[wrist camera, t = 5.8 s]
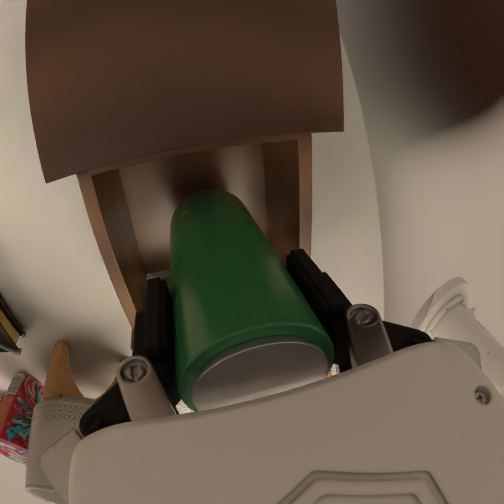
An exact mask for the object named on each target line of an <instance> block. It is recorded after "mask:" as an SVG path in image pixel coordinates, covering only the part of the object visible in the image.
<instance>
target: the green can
mask: <svg viewBox="0 0 504 504" xmlns="http://www.w3.org/2000/svg"><path fill="white" fill-rule="evenodd" d="M170 284H171V310H172V329H173V344H174V357H175V368H176V379H177V388H178V393H179V395H180V397H181V399H182V400H183V402H184V403H185V404H186V405H187V406H188V407H189V408H190V409H192V410H193V411H195V412H197V411H203V410H208V409H213V408H218V407H223V406H228V405H232V404H237V403H241V402H245V401H249V400H253V399H257V398H261V397H265V396H269V395H273V394H276V393H280V392H283V391H287V390H290V389H294V388H297V387H300V386H303V385H307V384H310V383H313V382H316V381H319V380H322V379H325V378H326V376H327V375H328V373H329V372H330V370H331V368H332V365H333V362H334V356H335V351H334V345H333V342H332V340H331V339H330V337H329V335H328V334H327V332H326V331H325V329H324V327H323V326H322V324H321V323H320V321H319V319H318V318H317V316H316V315H315V313H314V311H313V310H312V308H311V307H310V305H309V303H308V302H307V300H306V299H305V297H304V296H303V294H302V292H301V291H300V289H299V288H298V286H297V285H296V283H295V281H294V280H293V278H292V277H291V275H290V274H289V272H288V271H287V269H286V267H285V266H284V264H283V263H282V261H281V260H280V258H279V257H278V255H277V253H276V252H275V250H274V249H273V247H272V246H271V244H270V243H269V241H268V240H267V238H266V237H265V235H264V233H263V232H262V230H261V229H260V227H259V226H258V224H257V223H256V221H255V220H254V218H253V217H252V215H251V214H250V212H249V211H248V209H247V208H246V206H245V205H244V203H243V202H242V201H241V200H240V199H239V198H238V197H236V196H235V195H233V194H232V193H229V192H227V191H223V190H218V189H207V190H202V191H199V192H196V193H194V194H192V195H190V196H188V197H187V198H186V199H184V200H183V201H182V202H181V203H180V204H179V205H178V207H177V208H176V210H175V211H174V213H173V216H172V219H171V223H170Z"/></svg>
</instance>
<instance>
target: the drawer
mask: <svg viewBox="0 0 504 504" xmlns="http://www.w3.org/2000/svg"><path fill="white" fill-rule="evenodd" d="M311 138H312V137H311V133H300V134H286V135H274V136H264V137H254V138H245V139H237V140H230V141H222V142H216V143H209V144H203V145H197V146H191V147H185V148H180V149H174V150H169V151H164V152H159V153H155V154H150V155H145V156H141V157H137V158H132V159H128V160H124V161H120V162H116V163H112V164H108V165H105V166H101V167H97V168H94V169H90V170H87V171H84V172H80V173H77V178H78V181H79V185H80V189H81V192H82V196H83V200H84V203H85V207H86V210H87V213H88V217H89V220H90V223H91V226H92V229H93V232H94V235H95V238H96V241H97V244H98V247H99V250H100V252H101V255H102V258H103V261H104V263H105V266H106V268H107V271H108V274H109V276H110V279H111V281H112V284H113V286H114V289H115V291H116V293H117V296H118V298H119V300H120V303H121V305H122V307H123V309H124V312H125V314H126V316H127V318H128V320H129V323H130V325H131V327H132V336H131V350H132V351H133V338H134V325H135V315H136V312H138V311H144V310H145V303H146V290H147V274H149V273H154V272H159V271H163V270H168V269H170V223H171V219H172V216H173V213H174V211H175V210H176V208H177V207H178V205H179V204H180V203H181V202H182V201H183V200H184V199H186V198H187V197H188V196H190V195H192V194H194V193H196V192H199V191H202V190H207V189H218V190H223V191H227V192H229V193H232V194H233V195H235V196H236V197H238V198H239V199H240V200H241V201H242V202H243V203H244V205H245V206H246V208H247V209H248V211H249V212H250V214H251V215H252V217H253V218H254V220H255V221H256V223H257V224H258V226H259V227H260V229H261V230H262V232H263V233H264V235H265V237H266V238H267V240H268V241H269V243H270V244H271V246H272V247H273V249H274V250H275V252H276V253H277V255H278V257H279V258H280V260H281V261H282V263H283V264H284V266H285V267H286V255H288V254H290V251H292V250H297V249H304V251H305V252H306V253H307V254H308V255H309V257H311V225H312V139H311ZM161 280H166V283H167V286H168V290H169V293H170V296H171V284H170V276H167V277H162V278H161Z"/></svg>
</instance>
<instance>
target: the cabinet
mask: <svg viewBox="0 0 504 504" xmlns="http://www.w3.org/2000/svg"><path fill="white" fill-rule="evenodd" d="M25 48H26V71H27V84H28V94H29V102H30V110H31V116H32V123H33V129H34V134H35V139H36V144H37V149H38V154H39V158H40V162H41V167H42V171H43V175H44V178H45V182H46V183H49V182H52V181H55V180H58V179H61V178H64V177H67V176H71V175H74V174H77V173H80V172H84V171H87V170H90V169H94V168H97V167H101V166H105V165H108V164H112V163H116V162H120V161H124V160H128V159H132V158H137V157H141V156H145V155H150V154H155V153H159V152H164V151H169V150H174V149H180V148H185V147H191V146H197V145H203V144H209V143H216V142H222V141H230V140H237V139H245V138H254V137H264V136H274V135H286V134H300V133H319V132H343V131H344V107H343V78H342V60H341V47H340V35H339V25H338V15H337V7H336V0H27V8H26V31H25Z"/></svg>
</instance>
